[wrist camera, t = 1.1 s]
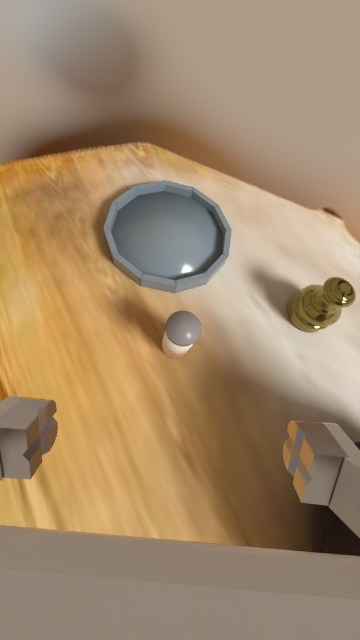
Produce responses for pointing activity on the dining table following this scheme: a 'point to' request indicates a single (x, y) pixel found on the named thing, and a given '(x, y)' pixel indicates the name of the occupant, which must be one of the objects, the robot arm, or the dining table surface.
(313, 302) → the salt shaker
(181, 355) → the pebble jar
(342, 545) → the jug
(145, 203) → the dish
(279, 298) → the dining table surface
